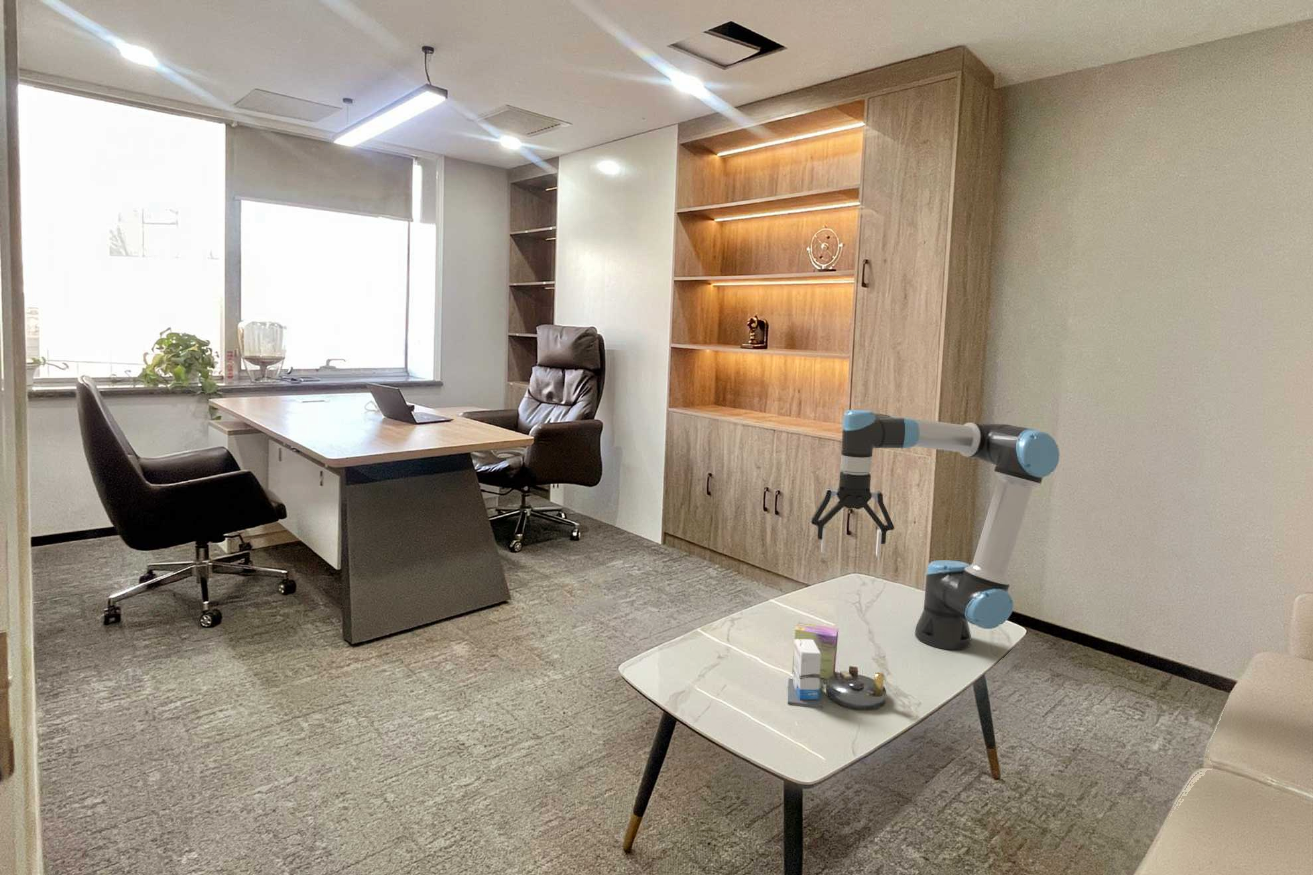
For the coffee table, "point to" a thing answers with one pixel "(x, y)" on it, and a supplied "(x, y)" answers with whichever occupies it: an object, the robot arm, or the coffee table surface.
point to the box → (821, 645)
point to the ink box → (806, 669)
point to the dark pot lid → (856, 690)
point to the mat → (795, 700)
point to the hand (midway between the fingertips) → (850, 553)
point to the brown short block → (853, 670)
